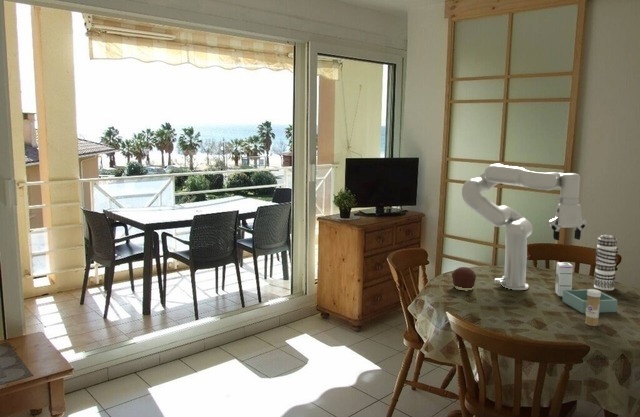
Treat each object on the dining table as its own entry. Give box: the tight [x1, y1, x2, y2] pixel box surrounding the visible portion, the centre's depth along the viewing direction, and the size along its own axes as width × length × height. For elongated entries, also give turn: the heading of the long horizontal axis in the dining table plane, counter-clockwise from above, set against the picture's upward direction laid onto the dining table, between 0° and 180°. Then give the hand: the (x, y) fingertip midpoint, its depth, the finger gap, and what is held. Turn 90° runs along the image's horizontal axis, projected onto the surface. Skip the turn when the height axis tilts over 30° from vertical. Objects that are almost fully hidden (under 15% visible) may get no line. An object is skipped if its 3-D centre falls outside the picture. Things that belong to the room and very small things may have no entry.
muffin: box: [451, 266, 477, 288], centre depth 237 cm, size 12×11×10 cm
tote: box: [562, 288, 618, 314], centre depth 211 cm, size 15×15×5 cm
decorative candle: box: [593, 234, 619, 291], centre depth 235 cm, size 9×9×25 cm
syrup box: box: [554, 261, 574, 298], centre depth 226 cm, size 6×6×14 cm
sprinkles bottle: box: [584, 288, 602, 327], centre depth 191 cm, size 5×5×13 cm
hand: (566, 239), depth 223 cm, fingers open, 9 cm apart
